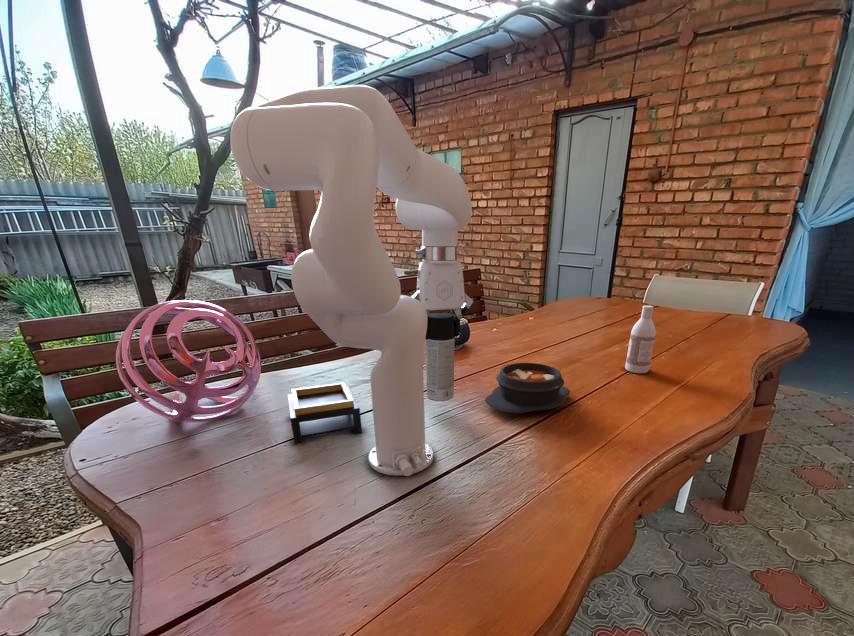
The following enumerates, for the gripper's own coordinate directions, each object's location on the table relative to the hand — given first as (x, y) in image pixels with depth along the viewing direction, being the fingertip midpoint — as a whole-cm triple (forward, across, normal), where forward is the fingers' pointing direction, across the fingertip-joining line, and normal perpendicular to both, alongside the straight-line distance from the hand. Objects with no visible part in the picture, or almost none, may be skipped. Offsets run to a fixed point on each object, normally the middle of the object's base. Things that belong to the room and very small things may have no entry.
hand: (440, 336), depth 98 cm
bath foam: (+18, +68, +5) cm, 70 cm away
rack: (+19, -28, +2) cm, 33 cm away
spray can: (+15, 0, 0) cm, 15 cm away
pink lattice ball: (+19, -52, +18) cm, 59 cm away
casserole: (+18, +22, -4) cm, 29 cm away
